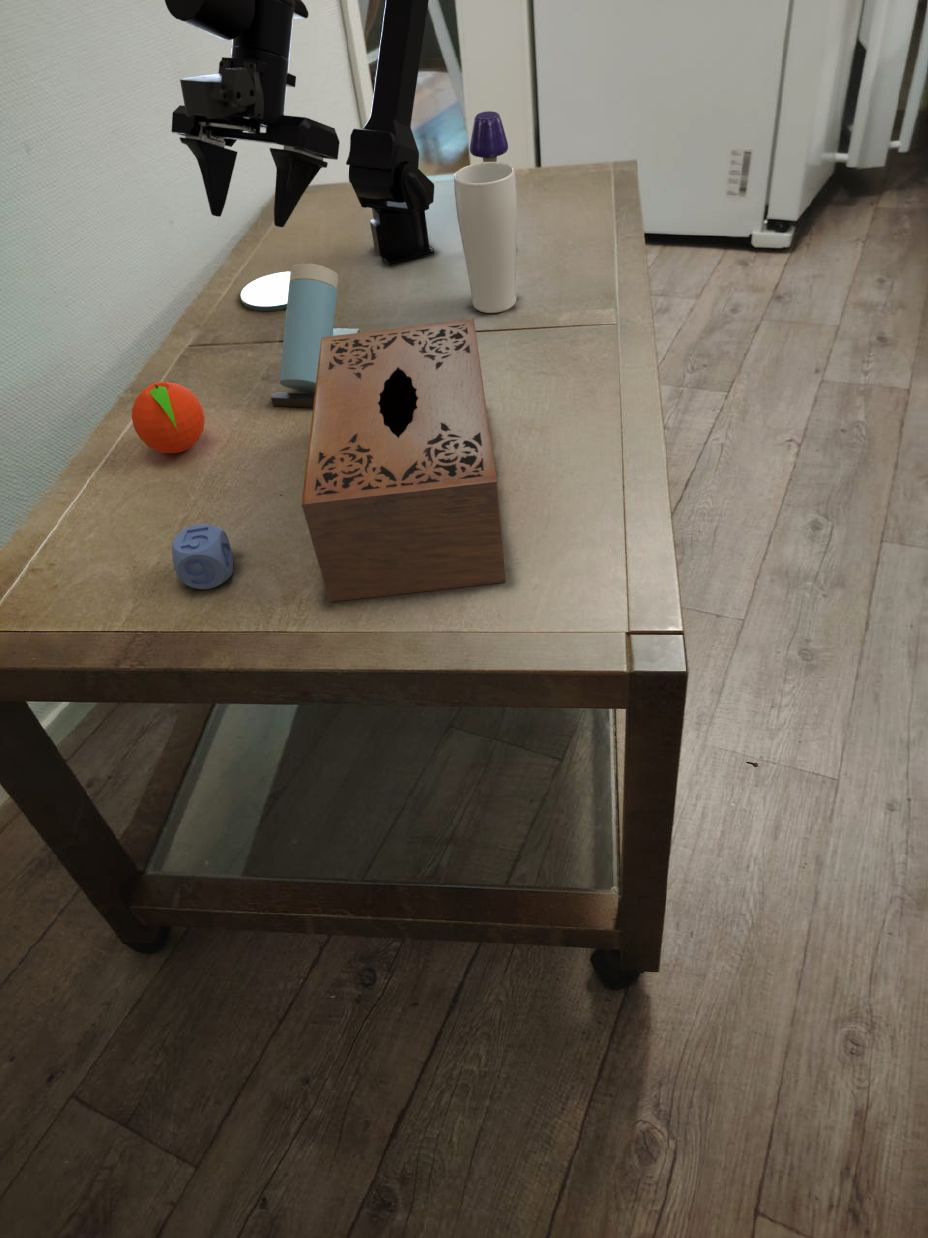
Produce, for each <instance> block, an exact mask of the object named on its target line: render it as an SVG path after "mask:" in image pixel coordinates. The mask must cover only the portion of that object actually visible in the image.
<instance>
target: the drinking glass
mask: <svg viewBox="0 0 928 1238" xmlns="http://www.w3.org/2000/svg"><path fill="white" fill-rule="evenodd" d="M453 186H454V189H453V190H454V199H455V210H456V217H457V223H458V227H459V233H460V238H461V244H462V249H463V255H464V259H465V260H464V261H465V266H466V270H467V276H468V282H469V287H470V288H469V289H470V295H471V296H470V297H471V303H472V306H473V307H474V308H475V310H477V311H479V312H482V313H486V314H496V313H502V312H505V311H507V310H510V309H511V308H512V307H513V306H515V304H516V302H517V248H518V247H517V245H518V244H517V243H518V194H517V193H518V192H517V191H518V190H517V179H516V171H515V167H513V166H512V165H510V164H509V163H505V162H499V161H497V162H483V161H482V162H477V163H472V164H468V165H466V166H464V167H461V168H460V169H457V171H456V172H455V173H454V175H453Z"/></svg>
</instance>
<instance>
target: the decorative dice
mask: <svg viewBox="0 0 928 1238" xmlns="http://www.w3.org/2000/svg"><path fill="white" fill-rule="evenodd" d="M171 556H172V562H173V567H174V570H175V574H176V576H177V578H178V579H179V581H180V582H181V583H183V584H184V585H186V586H187V587H189V588H193V589H198V590H210V589H215V588H217V587H219V586H221V585H222V584H224V583H226V582H227V581H228V580H229V578H231V576H232V575H233V572H234V557H233V551H232V546H231V543H230V540H229V537H228V535H227V533H226V532H225V531H224V530H223V529H221V528H220V527H218V526H215V525H212V524H208V523H198V524H193V525H190V526H188V527H185V528H184V529H182V530H180V531H179V532H178V533H177V534H176V535H175V536H174V538H173V540H172V544H171Z"/></svg>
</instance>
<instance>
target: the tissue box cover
mask: <svg viewBox="0 0 928 1238" xmlns="http://www.w3.org/2000/svg"><path fill="white" fill-rule="evenodd" d="M314 394H315V396H314V404H313V408H312V413H311V420H310V421H311V422H310V431H309V432H310V433H309V439H308V446H307V447H308V448H307V455H306V462H305V470H304V471H305V472H304V479H303V489H302V497H301V508H302V512H303V515H304V518H305V522H306V525H307V529H308V532H309V535H310V539H311V542H312V546H313V549H314V554H315V556H316V559H317V562H318V566H319V571H320V574H321V578H322V581H323V585H324V588H325V591H326V594H327V598H328V602H329V603H334V602H343V601H350V600H351V601H352V600H362V599H369V598H379V597H386V596H387V597H389V596H396V595H405V594H412V593H422V592H423V593H424V592H431V591H441V590H448V589H449V590H450V589H457V588H466V587H473V586H475V587H476V586H483V585H484V586H485V585H492V584H501V583H507V577H506V565H505V557H504V556H505V555H504V544H503V534H502V523H501V513H500V512H501V511H500V501H499V492H498V481H497V474H496V473H497V472H496V467H495V459H494V452H493V444H492V437H491V430H490V424H489V417H488V409H487V401H486V394H485V388H484V381H483V372H482V367H481V360H480V351H479V344H478V337H477V331H476V323H475V318H468V319H467V318H466V319H460V320H458V319H457V320H450V321H444V322H443V321H442V322H435V323H434V322H433V323H428V324H427V323H426V324H418V325H411V326H403V327H402V326H401V327H394V328H387V329H379V330H371V331H370V330H369V331H364V332H363V331H360V333H353V334H345V335H337V336H329V337H321V345H320V354H319V362H318V370H317V379H316V387H315V392H314Z"/></svg>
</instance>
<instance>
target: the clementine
mask: <svg viewBox="0 0 928 1238" xmlns="http://www.w3.org/2000/svg"><path fill="white" fill-rule="evenodd" d="M205 419H206V418H205V413H204V409H203V406H202V404H201V402H200V400H199V398H198V397H197V396H196V395H195V394H194V393H193V392H192V391H191V390H190V389H189V388H187V387H185V386H183V385H181V384H178V383H174V382H169V381H160V382H155V383H152V384H149V385H148V386H146V387H145V388H144V389H142V391H141V392H140V393H139V394H138V395H137V397H135V399H134V403H133V404H132V409H131V421H132V425H133V429H134V431H135V433H136V435H137V436H138V438H139V439H140V440H141V441H142V443H144V444H145V445H146V446H148V447H149V448H151V449H153V450H155V451H158V452H160V453H165V454H177V453H182V452H185V451H187V450H188V449H190V448H192V447H193V446H194V445H195V444H196V443H197V442H198V441H199V440H200V438H201V436H202V434H203V432H204V428H205V421H206V420H205Z"/></svg>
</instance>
